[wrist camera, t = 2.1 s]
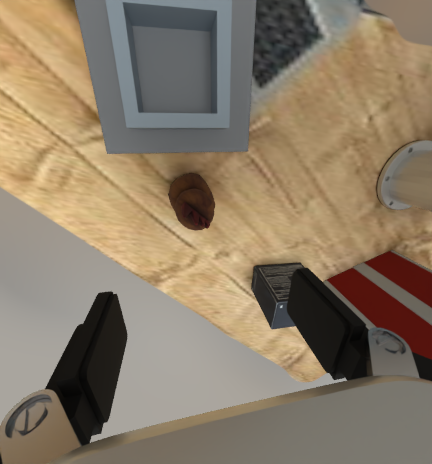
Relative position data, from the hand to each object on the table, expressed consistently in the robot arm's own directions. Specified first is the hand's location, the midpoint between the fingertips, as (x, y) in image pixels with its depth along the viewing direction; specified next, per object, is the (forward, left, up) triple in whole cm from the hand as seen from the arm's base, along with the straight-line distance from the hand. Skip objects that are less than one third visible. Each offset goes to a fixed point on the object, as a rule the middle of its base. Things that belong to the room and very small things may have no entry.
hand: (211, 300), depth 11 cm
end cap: (+1, -15, -25) cm, 29 cm away
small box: (-17, +19, -25) cm, 36 cm away
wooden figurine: (0, 0, -25) cm, 25 cm away
